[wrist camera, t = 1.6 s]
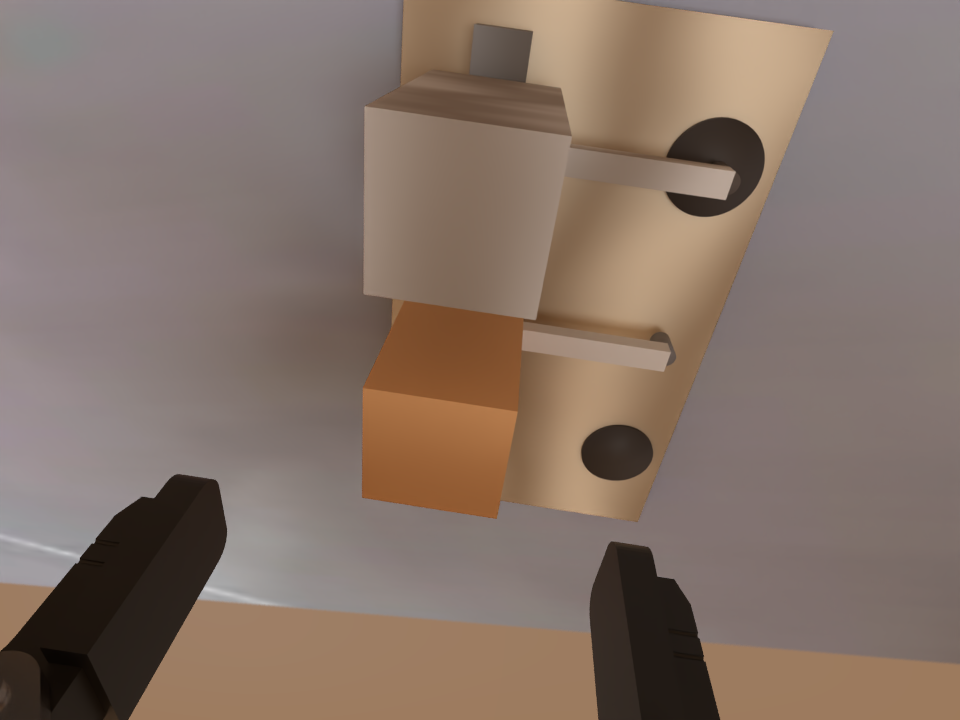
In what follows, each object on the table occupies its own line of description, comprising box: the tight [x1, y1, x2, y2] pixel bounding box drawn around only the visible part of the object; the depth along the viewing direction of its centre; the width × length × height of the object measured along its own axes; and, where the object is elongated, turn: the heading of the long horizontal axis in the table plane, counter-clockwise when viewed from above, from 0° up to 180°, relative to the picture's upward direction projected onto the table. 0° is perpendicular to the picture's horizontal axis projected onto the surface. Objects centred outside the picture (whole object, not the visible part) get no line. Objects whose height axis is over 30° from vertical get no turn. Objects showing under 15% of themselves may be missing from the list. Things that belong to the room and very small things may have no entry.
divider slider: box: [362, 300, 676, 519], centre depth 17 cm, size 9×4×8 cm, turn 83°
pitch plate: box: [363, 0, 833, 522], centre depth 18 cm, size 12×20×10 cm, turn 173°
